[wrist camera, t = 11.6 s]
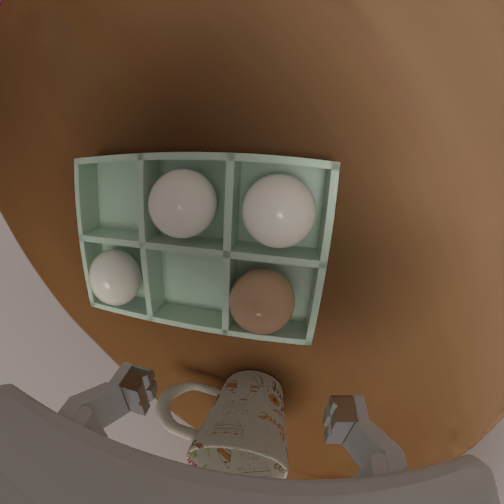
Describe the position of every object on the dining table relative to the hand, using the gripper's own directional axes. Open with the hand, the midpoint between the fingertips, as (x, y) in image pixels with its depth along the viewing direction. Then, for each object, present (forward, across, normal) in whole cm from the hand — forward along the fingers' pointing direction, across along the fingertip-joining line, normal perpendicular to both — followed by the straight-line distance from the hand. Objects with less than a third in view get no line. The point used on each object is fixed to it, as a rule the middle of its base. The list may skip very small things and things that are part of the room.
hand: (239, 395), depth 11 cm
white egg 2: (+11, +6, -6) cm, 14 cm away
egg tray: (+12, +5, -3) cm, 13 cm away
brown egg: (+11, -1, 0) cm, 11 cm away
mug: (+12, +2, +12) cm, 17 cm away
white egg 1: (+11, +12, 0) cm, 16 cm away
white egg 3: (+11, -1, -6) cm, 13 cm away
